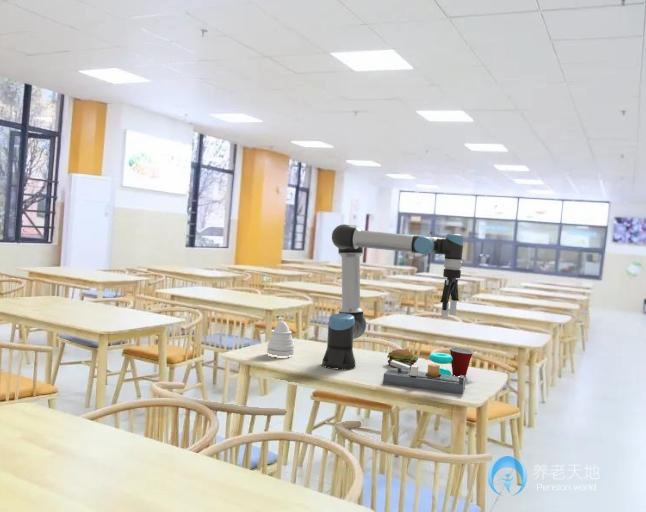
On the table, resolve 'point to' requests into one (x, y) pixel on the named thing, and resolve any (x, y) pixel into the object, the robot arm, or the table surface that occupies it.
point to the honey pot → (281, 340)
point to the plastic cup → (460, 360)
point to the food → (402, 357)
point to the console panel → (425, 381)
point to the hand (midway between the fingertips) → (448, 316)
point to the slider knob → (414, 370)
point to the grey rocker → (400, 365)
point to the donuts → (441, 361)
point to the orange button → (433, 370)
